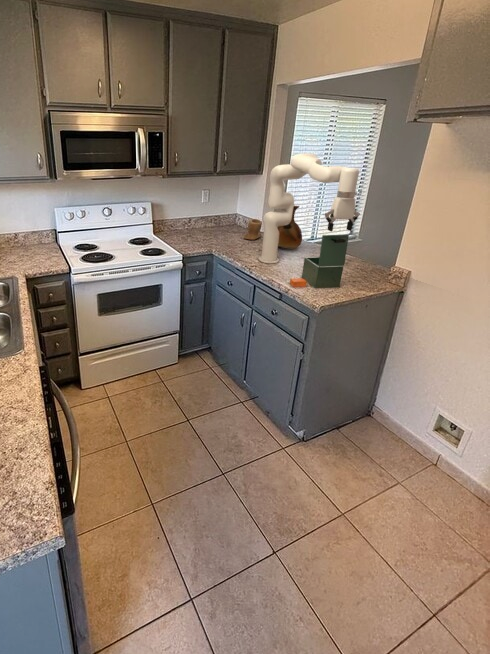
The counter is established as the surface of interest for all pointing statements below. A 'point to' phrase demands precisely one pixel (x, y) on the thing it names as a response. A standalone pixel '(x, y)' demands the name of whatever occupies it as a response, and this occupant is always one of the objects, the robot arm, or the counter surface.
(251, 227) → the stone cup
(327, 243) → the hinged box lid
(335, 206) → the robot arm
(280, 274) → the counter surface
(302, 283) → the block
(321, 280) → the green open box
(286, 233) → the ceramic pitcher
